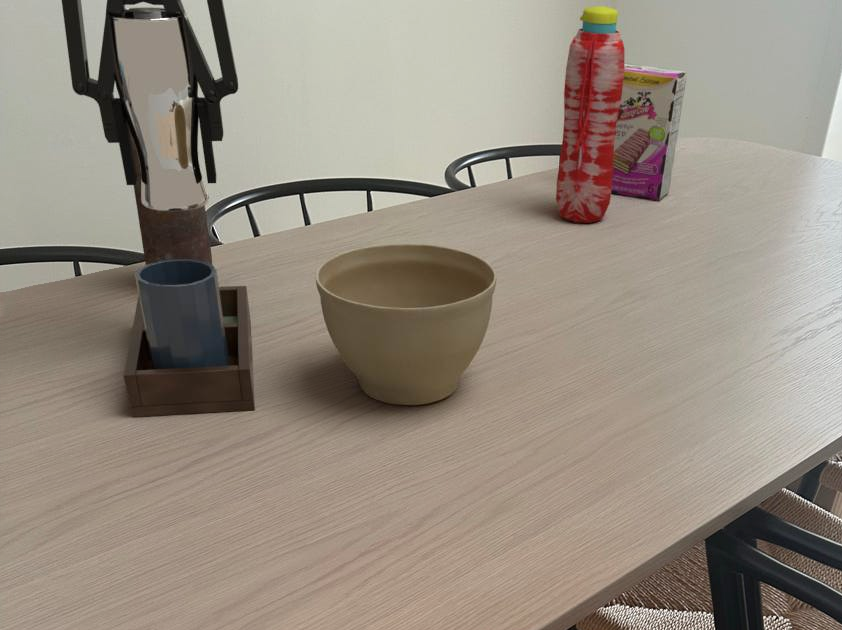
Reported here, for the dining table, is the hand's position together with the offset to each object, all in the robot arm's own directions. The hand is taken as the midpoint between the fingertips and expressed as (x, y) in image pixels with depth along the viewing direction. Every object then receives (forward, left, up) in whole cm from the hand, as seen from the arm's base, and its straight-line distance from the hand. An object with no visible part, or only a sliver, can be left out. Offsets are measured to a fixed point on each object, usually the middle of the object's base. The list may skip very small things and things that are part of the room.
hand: (172, 179), depth 91 cm
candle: (-2, +17, -16) cm, 24 cm away
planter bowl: (+20, -12, -16) cm, 28 cm away
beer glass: (0, 0, -2) cm, 2 cm away
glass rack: (0, -5, -16) cm, 17 cm away
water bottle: (+52, +39, -16) cm, 67 cm away
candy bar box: (+62, +49, -16) cm, 81 cm away
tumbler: (0, -10, -15) cm, 18 cm away
